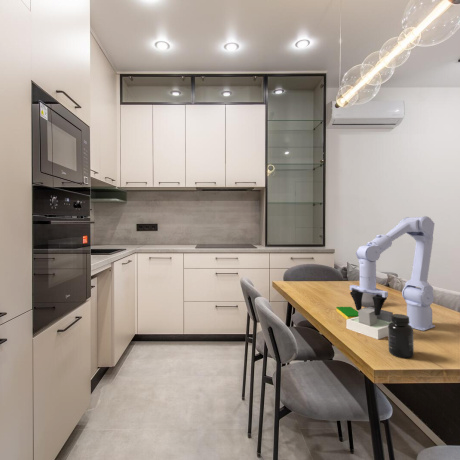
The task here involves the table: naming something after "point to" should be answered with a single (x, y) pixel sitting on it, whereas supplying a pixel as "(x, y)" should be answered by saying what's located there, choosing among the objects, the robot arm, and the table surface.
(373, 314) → the grey block
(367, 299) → the coffee pot
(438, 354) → the table surface
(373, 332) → the trapdoor frame
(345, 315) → the dish sponge
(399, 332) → the supplement bottle
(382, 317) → the trapdoor
